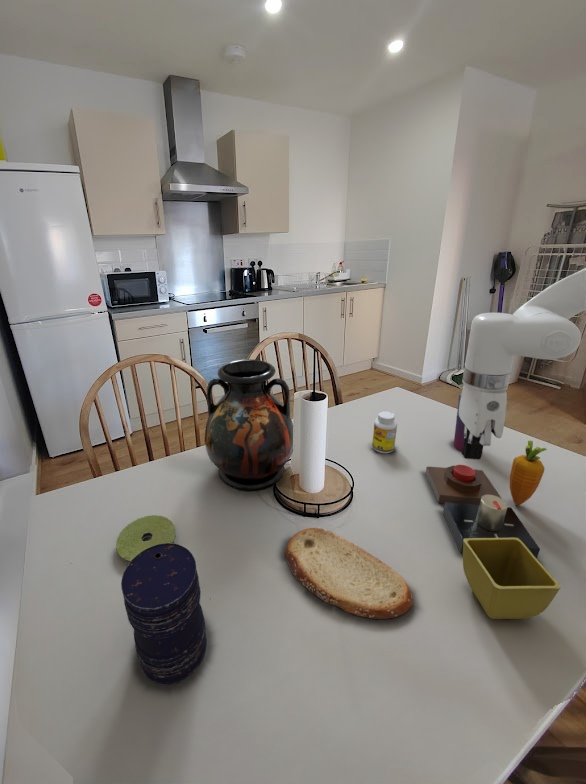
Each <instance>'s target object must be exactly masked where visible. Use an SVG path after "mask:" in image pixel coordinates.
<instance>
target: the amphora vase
mask: <svg viewBox="0 0 586 784" xmlns="http://www.w3.org/2000/svg"><path fill="white" fill-rule="evenodd" d="M276 372H277V371H276V367H275V366H274V365H273V364H272V363H270V362H268V361H265V360H261V359H252V358H250V359H238V360H237V359H236V360H232V361H229V362H226V363H224V364H223V365H221V366H220V367H219V368H218V370H217V376H218V378H217V377H216V378H215V377H214V378H213V379H211V380H210V381H209V382H208V383H207V386H206V404H207V414H208V415H207V416H208V417H207V421H206V424H205V428H204V429H205V430H204V445H205V446H204V447H205V450H206V454H207V457H208V458H209V460H210V461H211V463H212V464H213V465H214V466H215V468H217V469H218V470H217V472H218V476H219V479H220V480H221V481H222V483H223V484H225V485H226V486H228V487H230V488H231V489H234V490H237V491H239V492H244V493H245V492H246V493H251V492H255V493H256V492H260V491H264V490H268V489H269V488H272V487H273V486H275V485H276V484H278V483H279V482H280V481H281V479H282V478H283V477H284V473H285V469H286V468H285V465H286V464H287V462H289V460H290V459H291V457H292V455H293V452H294V449H293V427H294V424H293V420H292V418H291V395H290V394H291V393H290V388H289V385H288V383H287V381H286V380H284V379H282V378H277V377H276V378H273V377H274V376H275V374H276ZM272 378H273V379H272ZM270 379H271V380H270ZM268 380H270V381H269V382H268ZM217 385H218V386H220V387H221V388H222V389H223V392H224V394H223V395H222V396H221V397H220V399H219V400H218V401H217V402H216V404H215V403H214V398H213V387H214V386H217ZM274 386H280V387H281V388H282V390H283V394H284V404H283V402H282V401H281V400H280V399H279V398H278V396H275V394H274V393H272V391H271V390H272V388H273V387H274ZM275 483H276V484H275ZM274 484H275V485H274Z"/></svg>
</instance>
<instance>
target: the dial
mask: <svg viewBox="0 0 586 784" xmlns="http://www.w3.org/2000/svg"><path fill="white" fill-rule="evenodd" d="M501 498H502V497H501ZM501 498H499V497H497V496H494V495H483V496H482V497H481V501H480V505H479V509H478V513H477V517H476V521H477V523H478V524H479V525H480V526H481V527H483V528H484V529H487V530H489V531H499V530H501V528H502V525H503V521H504V518H505V514H506V511H507V507H509V506H508V503H507V502H506V500H504V499H503V498H502V499H501Z"/></svg>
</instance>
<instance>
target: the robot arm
mask: <svg viewBox="0 0 586 784" xmlns="http://www.w3.org/2000/svg"><path fill="white" fill-rule="evenodd" d="M584 311H586V267H585V268H582V269H580V270H579V271H576V272H574V273H572V274H570V275H568V276H566V277H564V278H562V279H560V280H558V281H556V282H554V283H552V284H551V285H549V286H547V287H546V288H544V289H542V291H540V292H539V293H537V294H536V295H535V296H533V297H532V298H531V299H529V300H528V301H526V302H525V303H523V305H521V306H520V307H519V308H517V309H516V310H515V311H513V313H512V314H511V313H506V312H482V313H479V314H477V315H475V316H474V317H473V319H472V321H471V324H470V331H469V335H468V343H467V348H466V349H467V350H466V355H465V361H464V368H463V374H462V380H461V383H462V384H463V386H462V390H461V392H462V394H461V399H460V404H459V417H460V419H461V420H462V422H463V423H464V424H465V429H464V437H465V438H467V439H464V442H463V448H462V451H461V455H462V456H463V458H464V459H465V460H481V459H482V456H483V451H484V450H483V449H484V446H485V447H486V446H491V445H492V444H491V443H492V435H493V436H494V437H495V438H497V439H501V438H502V437H503V433H504V428H505V421H506V415H507V404H508V403H507V402H508V401H507V400H508V396H507V395H508V393H507V390H508V388H509V385H510V379H511V373H512V369H513V364H514V360H515V356H518V357H519V356H520V357H524V358H532V359H537V360H559V359H563V358H565V357H568V356H569V355H571V354H573V353H574V352H576V350H577V349H578V348H579V346H580V345H581V343H582V333H581V330H580V328H578V326H577V325H576V324H575V323H574V322H573V321H571V320H570V319H571V318H573V317H575V316H576V315H578V314H580V313H583V312H584Z"/></svg>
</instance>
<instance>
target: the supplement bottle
mask: <svg viewBox="0 0 586 784" xmlns="http://www.w3.org/2000/svg"><path fill="white" fill-rule="evenodd" d="M395 418H396V415H395V414H394V413H392V412H390V411H380V412H379V413H378V415H377V417H376V418H375V420H374V423H373V434H372V445H371V446H372V449H373V450H374V451H376V452H378V453H381V454H389V453H392V452H393V451H395V446H396V445H395V444H396V439H397V431H398V430H397V429H398V423H397V421H396V420H395Z"/></svg>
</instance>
